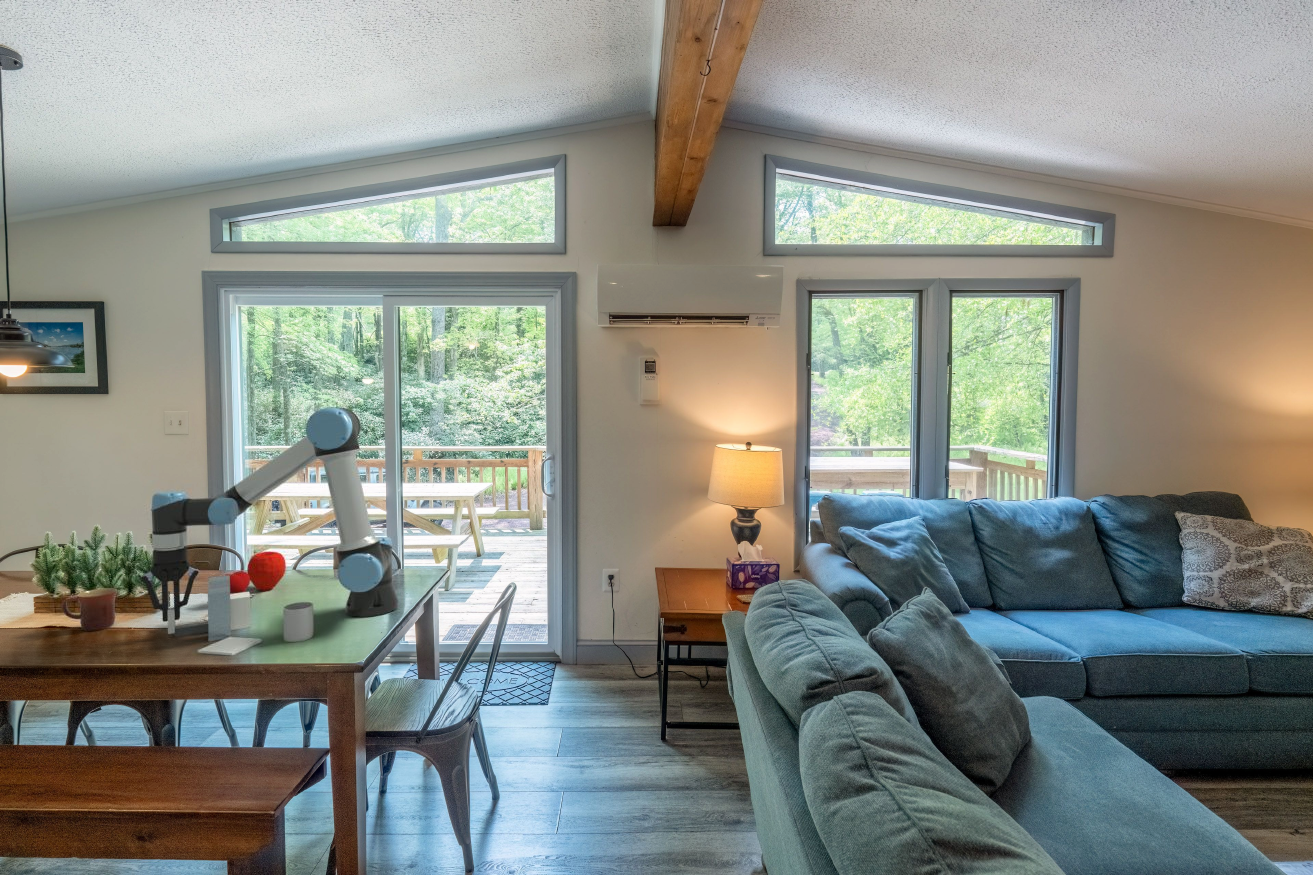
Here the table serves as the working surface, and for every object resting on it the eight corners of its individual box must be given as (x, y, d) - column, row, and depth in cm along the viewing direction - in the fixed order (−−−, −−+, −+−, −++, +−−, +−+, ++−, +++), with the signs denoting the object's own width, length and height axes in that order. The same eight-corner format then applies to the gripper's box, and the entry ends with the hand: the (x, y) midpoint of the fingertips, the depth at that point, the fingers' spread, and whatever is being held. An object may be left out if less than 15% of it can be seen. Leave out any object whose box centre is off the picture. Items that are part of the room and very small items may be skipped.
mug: (122, 620, 186) (121, 586, 186) (113, 630, 178) (112, 594, 178) (69, 626, 180) (68, 591, 180) (57, 636, 173) (56, 599, 172)
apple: (293, 587, 222) (293, 550, 221) (257, 596, 212) (257, 556, 211) (276, 582, 228) (275, 546, 228) (240, 590, 218) (240, 552, 218)
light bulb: (232, 608, 199) (231, 577, 198) (213, 606, 200) (213, 575, 200) (256, 599, 208) (256, 569, 207) (238, 598, 209) (238, 568, 209)
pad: (261, 641, 171) (261, 639, 171) (232, 655, 161) (231, 653, 161) (229, 638, 172) (229, 636, 172) (197, 652, 162) (197, 650, 162)
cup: (281, 643, 169) (281, 611, 169) (287, 631, 178) (287, 600, 178) (311, 640, 172) (311, 608, 172) (316, 628, 181) (315, 598, 181)
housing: (230, 617, 190) (229, 575, 189) (230, 637, 173) (230, 591, 173) (210, 620, 187) (209, 577, 186) (208, 641, 170) (207, 594, 170)
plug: (174, 639, 172) (173, 606, 171) (175, 632, 177) (175, 601, 176) (250, 627, 182) (249, 596, 181) (249, 621, 187) (249, 591, 186)
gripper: (199, 542, 179) (201, 623, 180) (141, 547, 172) (142, 632, 173) (198, 547, 173) (200, 631, 174) (138, 553, 166) (139, 640, 167)
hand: (171, 631), depth 174 cm, fingers closed
